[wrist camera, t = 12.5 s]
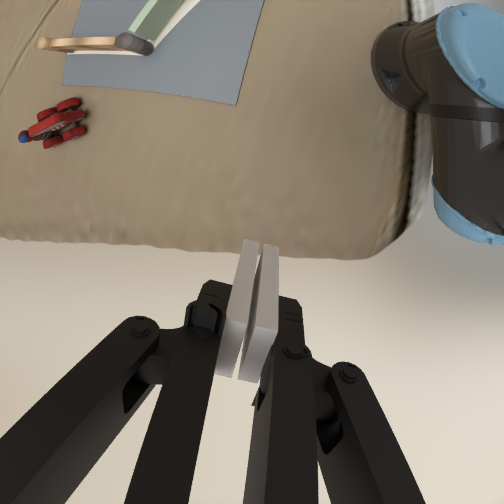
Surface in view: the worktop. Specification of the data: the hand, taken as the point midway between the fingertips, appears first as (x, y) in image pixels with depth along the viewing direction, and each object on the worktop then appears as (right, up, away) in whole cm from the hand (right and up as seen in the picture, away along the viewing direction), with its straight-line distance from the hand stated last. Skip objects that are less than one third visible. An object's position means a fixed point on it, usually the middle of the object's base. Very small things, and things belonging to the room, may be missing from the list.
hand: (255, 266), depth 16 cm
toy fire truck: (-33, +24, +30) cm, 51 cm away
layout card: (-16, +36, +22) cm, 45 cm away
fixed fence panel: (-24, +34, +24) cm, 48 cm away
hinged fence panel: (-11, +38, +20) cm, 45 cm away
